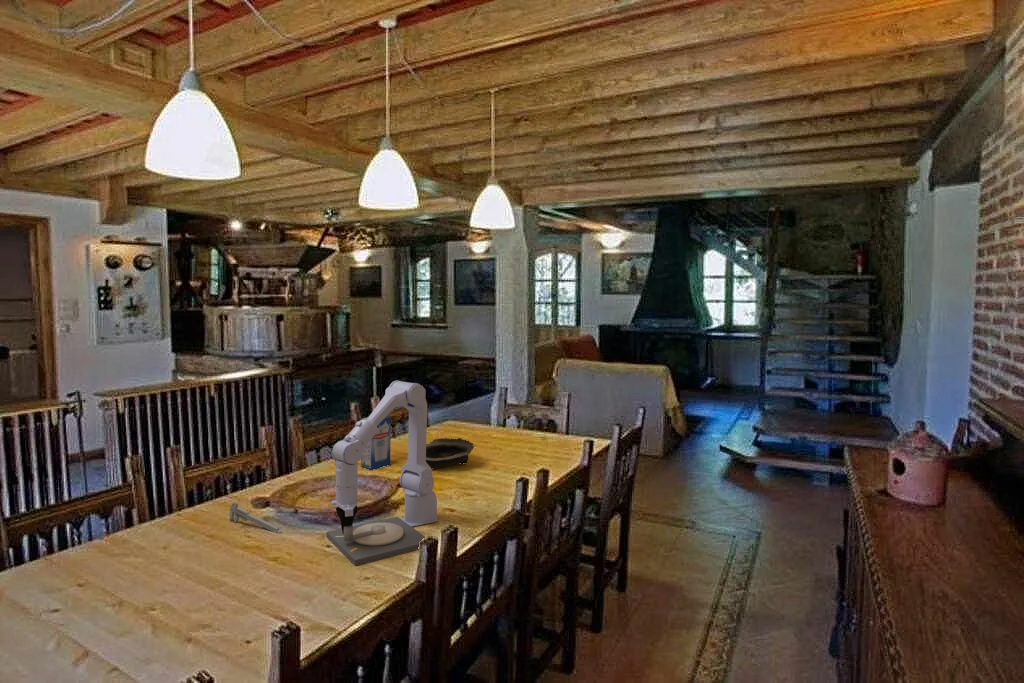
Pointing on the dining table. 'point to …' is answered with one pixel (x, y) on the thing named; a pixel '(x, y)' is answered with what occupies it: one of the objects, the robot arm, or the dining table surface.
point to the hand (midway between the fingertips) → (346, 533)
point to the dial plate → (371, 553)
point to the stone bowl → (447, 452)
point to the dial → (374, 533)
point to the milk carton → (378, 447)
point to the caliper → (249, 518)
